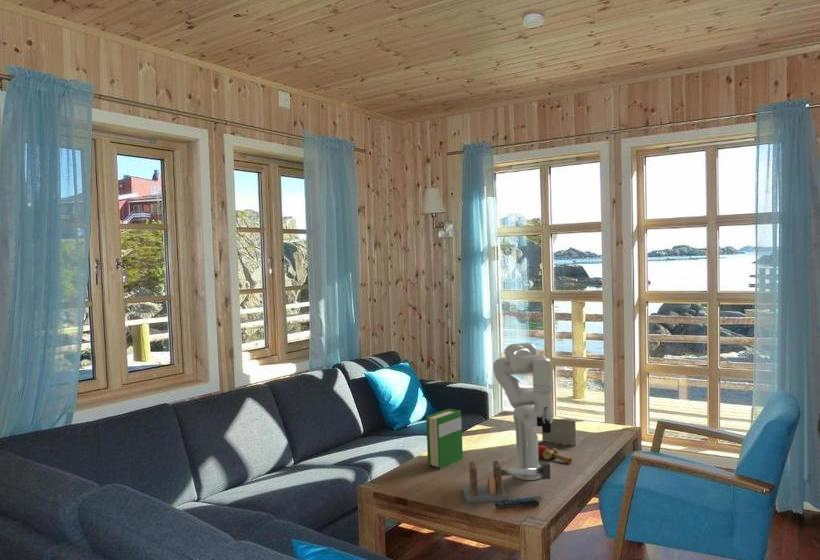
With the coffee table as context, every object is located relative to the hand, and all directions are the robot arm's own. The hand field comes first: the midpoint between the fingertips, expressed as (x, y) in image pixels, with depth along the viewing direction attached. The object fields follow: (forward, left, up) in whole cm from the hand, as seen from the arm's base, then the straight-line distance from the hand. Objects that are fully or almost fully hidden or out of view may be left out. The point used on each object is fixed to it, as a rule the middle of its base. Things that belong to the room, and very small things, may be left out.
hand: (543, 429), depth 259 cm
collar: (+23, 0, -25) cm, 33 cm away
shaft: (+9, 0, -20) cm, 22 cm away
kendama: (-14, -39, -27) cm, 49 cm away
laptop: (-26, -70, -27) cm, 79 cm away
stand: (+25, 0, -25) cm, 35 cm away
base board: (+25, 0, -26) cm, 36 cm away
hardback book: (+38, -43, -26) cm, 63 cm away
